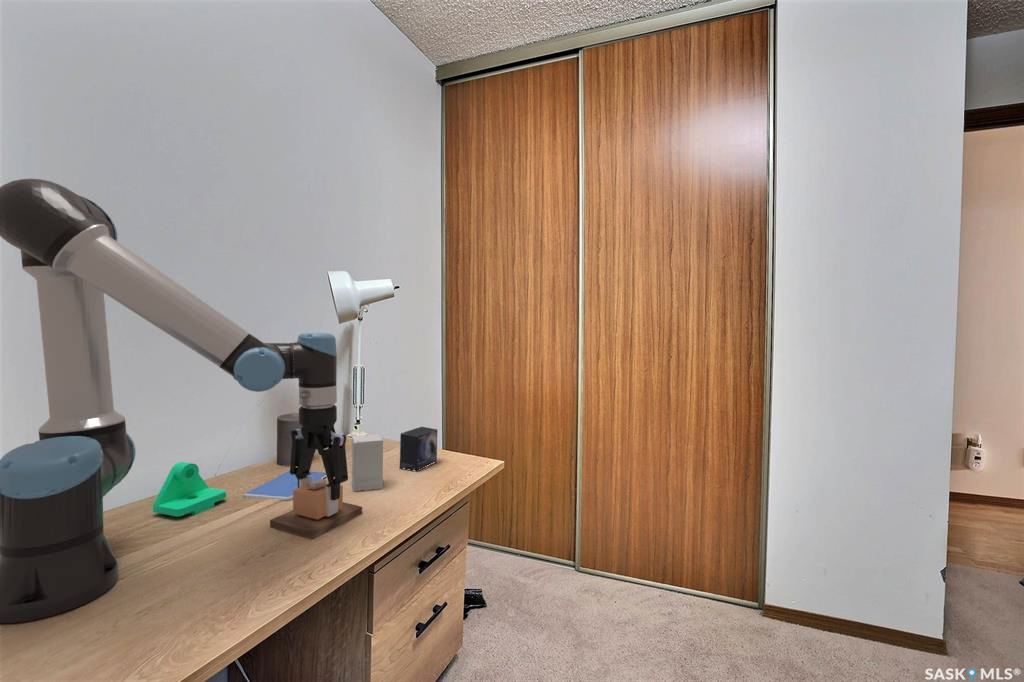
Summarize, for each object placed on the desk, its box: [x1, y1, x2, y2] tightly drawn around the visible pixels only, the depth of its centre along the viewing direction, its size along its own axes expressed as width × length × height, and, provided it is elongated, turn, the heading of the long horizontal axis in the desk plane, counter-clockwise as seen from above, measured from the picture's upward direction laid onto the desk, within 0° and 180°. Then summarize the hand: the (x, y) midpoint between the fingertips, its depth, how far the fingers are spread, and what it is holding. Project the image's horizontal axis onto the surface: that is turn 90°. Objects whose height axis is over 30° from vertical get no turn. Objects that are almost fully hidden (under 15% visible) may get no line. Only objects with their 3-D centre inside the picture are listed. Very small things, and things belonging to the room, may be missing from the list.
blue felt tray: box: [243, 470, 327, 501], centre depth 123 cm, size 19×13×1 cm, turn 172°
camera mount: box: [152, 461, 227, 517], centre depth 107 cm, size 12×8×10 cm, turn 162°
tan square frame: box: [292, 481, 344, 520], centre depth 103 cm, size 7×7×5 cm
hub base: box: [269, 478, 363, 540], centre depth 103 cm, size 14×12×8 cm
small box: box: [399, 426, 438, 472], centre depth 141 cm, size 11×6×10 cm, turn 154°
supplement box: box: [351, 433, 384, 492], centre depth 124 cm, size 7×7×13 cm
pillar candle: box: [276, 411, 302, 466], centre depth 143 cm, size 10×10×15 cm
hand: (318, 510), depth 103 cm, fingers closed on tan square frame, 7 cm apart
